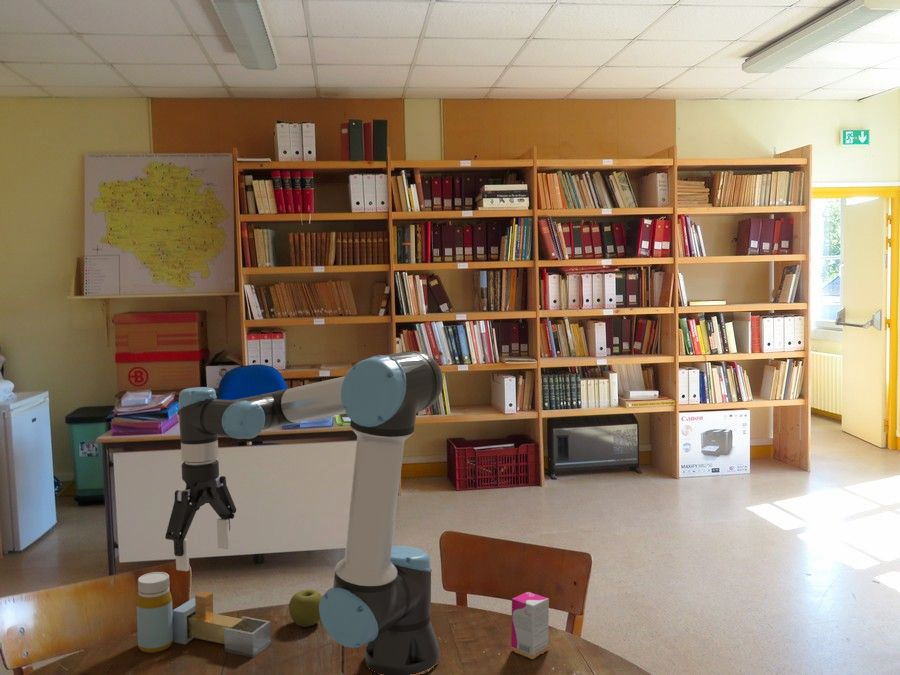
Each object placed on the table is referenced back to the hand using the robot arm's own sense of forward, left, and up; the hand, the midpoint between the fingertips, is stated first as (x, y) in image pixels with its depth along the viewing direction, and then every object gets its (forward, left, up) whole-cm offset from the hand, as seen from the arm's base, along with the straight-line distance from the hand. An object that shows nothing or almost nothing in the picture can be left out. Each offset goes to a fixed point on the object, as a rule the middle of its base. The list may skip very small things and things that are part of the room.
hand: (204, 558), depth 168 cm
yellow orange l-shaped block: (-2, 0, -17) cm, 17 cm away
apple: (-16, -14, -18) cm, 28 cm away
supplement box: (-66, -20, -18) cm, 72 cm away
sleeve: (-11, 0, -18) cm, 21 cm away
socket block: (+4, 0, -18) cm, 18 cm away
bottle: (+8, +6, -18) cm, 21 cm away
